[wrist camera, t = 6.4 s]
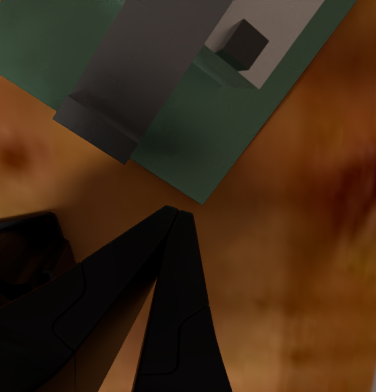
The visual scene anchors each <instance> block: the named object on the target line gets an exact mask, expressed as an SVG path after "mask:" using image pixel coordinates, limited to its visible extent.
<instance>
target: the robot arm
mask: <svg viewBox="0 0 376 392" xmlns="http://www.w3.org/2000/svg"><path fill="white" fill-rule="evenodd" d="M46 218H50V219H51V220H52V222H47V221H46ZM157 276H158V277H157ZM156 279H157V281H156ZM155 281H156V285H155V289H154V294H153V298H152V303H151V307H150V311H149V316H148V320H147V325H146V329H145V333H144V338H143V342H142V347H141V351H140V355H139V360H138V364H137V369H136V373H135V378H134V382H133V386H132V391H131V392H232V389H231V386H230V382H229V379H228V376H227V373H226V370H225V367H224V364H223V360H222V357H221V353H220V350H219V346H218V343H217V339H216V335H215V331H214V326H213V321H212V316H211V310H210V307H209V300H208V294H207V289H206V283H205V277H204V272H203V266H202V261H201V255H200V249H199V244H198V238H197V232H196V227H195V221H194V216H193V214H192V213H190V212H186V211H183V210H180V211H179V210H178V209H177V208H174V207H171V206H168V205H166V206H164V207H162V208H161V209H159V210H158V211H156V212H155V213H153V214H152V215H150V216H149V217H147V218H146V219H144V220H143V221H141V222H140V223H138V224H137V225H135V226H134V227H132V228H131V229H129V230H128V231H126V232H125V233H123V234H122V235H120V236H119V237H117V238H116V239H114V240H113V241H111V242H109V243H108V244H106V245H105V246H103V247H102V248H100V249H99V250H97V251H96V252H94V253H93V254H91V255H90V256H88V257H87V258H85V259H84V260H82V263H81V262H79V263H77V264H76V262H75V259H74V256H73V253H72V250H71V247H70V244H69V241H68V240H66V239H64V237H63V234H62V231H61V228H60V225H59V222H58V219H57V217H56V215H55V214H54V213H51V212H46V213H41V214H35V215H30V216H25V217H20V218H14V219H9V220H4V221H0V392H98V391H99V389H100V387H101V385H102V383H103V381H104V379H105V377H106V375H107V373H108V371H109V370H110V368H111V366H112V364H113V362H114V360H115V358H116V356H117V354H118V352H119V350H120V348H121V347H122V345H123V343H124V341H125V339H126V337H127V335H128V333H129V331H130V329H131V327H132V325H133V324H134V322H135V320H136V318H137V316H138V314H139V312H140V310H141V308H142V306H143V304H144V302H145V301H146V299H147V297H148V295H149V293H150V291H151V289H152V287H153V285H154V283H155Z"/></svg>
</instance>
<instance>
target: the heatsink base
mask: <svg viewBox="0 0 376 392" xmlns="http://www.w3.org/2000/svg"><path fill="white" fill-rule="evenodd" d="M125 1H126V0H1V2H0V75H2V76H3V77H5V78H6V79H8V80H9V81H11V82H13V83H14V84H16V85H17V86H19V87H20V88H22V89H23V90H25V91H26V92H28V93H30V94H31V95H33V96H34V97H36V98H37V99H39V100H40V101H42V102H43V103H45V104H47V105H48V106H50V107H51V108H53V109H54V110H56V111H57V110H58V109H59V107H60V105H61V104H62V102H63V100H64V99H65V97H66V95H70V93H71V92H72V90H73V88H74V87H75V85H76V83H77V82H78V80H79V78H80V77H81V75H82V73H83V72H84V70H85V68H86V67H87V65H88V63H89V61H90V60H91V58H92V56H93V55H94V53H95V51H96V50H97V48H98V46H99V45H100V43H101V41H102V40H103V38H104V36H105V35H106V33H107V31H108V29H109V28H110V26H111V24H112V23H113V21H114V19H115V18H116V16H117V14H118V13H119V11H120V9H121V8H122V6H123V4H124V2H125ZM356 1H357V0H233V2H232V3H231V5H230V6H229V8H228V9H227V11H226V12H225V14H224V15H223V17H222V18H221V20H220V21H219V23H218V24H217V26H216V27H215V29H214V30H213V32H212V33H211V35H210V36H209V38H208V39H207V40H206V42H205V43H204V45H203V46H202V48H201V49H200V51H199V52H198V54H197V55H196V57H195V58H194V60H193V61H192V63H191V64H190V66H189V67H188V69H187V70H186V72H185V73H184V75H183V76H182V78H181V79H180V81H179V82H178V84H177V85H176V87H175V88H174V90H173V91H172V93H171V94H170V96H169V97H168V99H167V100H166V102H165V103H164V105H163V106H162V108H161V109H160V111H159V112H158V114H157V115H156V117H155V118H154V120H153V121H152V123H151V124H150V126H149V127H148V129H147V130H146V132H145V133H144V135H143V136H142V138H141V139H140V141H139V144H138V145H137V147H136V148H135V150H134V151H133V153H132V154H131V156H130V157H129V158H130V159H132V160H133V161H135V162H136V163H138V164H139V165H141V166H142V167H144V168H145V169H147V170H149V171H150V172H152V173H153V174H155V175H156V176H158V177H159V178H161V179H162V180H164V181H166V182H167V183H169V184H170V185H172V186H173V187H175V188H176V189H178V190H180V191H181V192H183V193H184V194H186V195H187V196H189V197H190V198H192V199H193V200H195V201H197V202H198V203H200V204H201V205H203V204H204V203H205V201H206V200H207V199H208V197H209V196H210V195H211V193H212V192H213V191H214V189H215V188H216V187H217V186H218V184H219V183H220V182H221V180H222V179H223V178H224V176H225V175H226V174H227V172H228V171H229V170H230V168H231V167H232V166H233V164H234V163H235V162H236V160H237V159H238V158H239V156H240V155H241V154H242V152H243V151H244V150H245V148H246V147H247V146H248V144H249V143H250V142H251V140H252V139H253V138H254V136H255V135H256V134H257V132H258V131H259V130H260V128H261V127H262V126H263V124H264V123H265V122H266V120H267V119H268V118H269V116H270V115H271V114H272V113H273V111H274V110H275V109H276V107H277V106H278V105H279V103H280V102H281V101H282V99H283V98H284V97H285V95H286V94H287V93H288V91H289V90H290V89H291V87H292V86H293V85H294V83H295V82H296V81H297V79H298V78H299V77H300V75H301V74H302V73H303V71H304V70H305V69H306V67H307V66H308V65H309V63H310V62H311V61H312V59H313V58H314V57H315V55H316V54H317V53H318V51H319V50H320V49H321V47H322V46H323V45H324V44H325V42H326V41H327V40H328V38H329V37H330V36H331V34H332V33H333V32H334V30H335V29H336V28H337V26H338V25H339V24H340V22H341V21H342V20H343V18H344V17H345V16H346V14H347V13H348V12H349V10H350V9H351V8H352V6H353V5H354V4H355V2H356Z"/></svg>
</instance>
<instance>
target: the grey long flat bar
mask: <svg viewBox="0 0 376 392" xmlns="http://www.w3.org/2000/svg"><path fill="white" fill-rule="evenodd" d="M232 2H233V0H126V1H125V2H124V4H123V6H122V8H121V9H120V11H119V13H118V14H117V16H116V18H115V19H114V21H113V23H112V24H111V26H110V28H109V29H108V31H107V33H106V35H105V36H104V38H103V40H102V41H101V43H100V45H99V46H98V48H97V50H96V51H95V53H94V55H93V56H92V58H91V60H90V61H89V63H88V65H87V67H86V68H85V70H84V72H83V73H82V75H81V77H80V78H79V80H78V82H77V83H76V85H75V87H74V88H73V90H72V92H71V93H70V95H66V97H65V99H64V100H63V102H62V104H61V105H60V107H59V109H58V110H57V112H56V114H55V116H54V117H53V120H55V121H57V122H58V123H60V124H61V125H63V126H64V127H66V128H68V129H69V130H71V131H72V132H74V133H75V134H77V135H79V136H80V137H82V138H83V139H85V140H86V141H88V142H90V143H91V144H93V145H94V146H96V147H97V148H99V149H101V150H102V151H104V152H105V153H107V154H108V155H110V156H112V157H113V158H115V159H116V160H118V161H119V162H121V163H122V164H124V165H125V163H126V162H127V160H128V159H129V157H130V156H131V154H132V153H133V151H134V150H135V148H136V147H137V145H138V144H139V141H140V139H141V138H142V136H143V135H144V133H145V132H146V130H147V129H148V127H149V126H150V124H151V123H152V121H153V120H154V118H155V117H156V115H157V114H158V112H159V111H160V109H161V108H162V106H163V105H164V103H165V102H166V100H167V99H168V97H169V96H170V94H171V93H172V91H173V90H174V88H175V87H176V85H177V84H178V82H179V81H180V79H181V78H182V76H183V75H184V73H185V72H186V70H187V69H188V67H189V66H190V64H191V63H192V61H193V60H194V58H195V57H196V55H197V54H198V52H199V51H200V49H201V48H202V46H203V45H204V43H205V42H206V40H207V39H208V38H209V36H210V35H211V33H212V32H213V30H214V29H215V27H216V26H217V24H218V23H219V21H220V20H221V18H222V17H223V15H224V14H225V12H226V11H227V9H228V8H229V6H230V5H231V3H232Z"/></svg>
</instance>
